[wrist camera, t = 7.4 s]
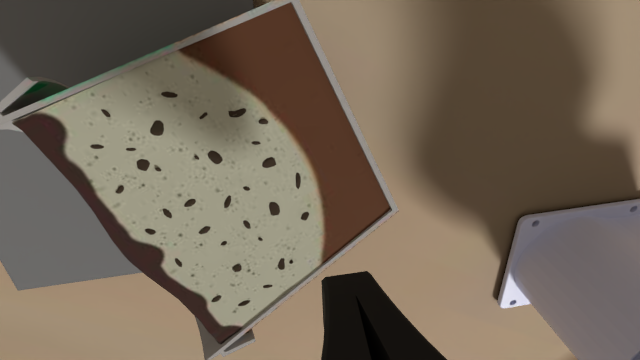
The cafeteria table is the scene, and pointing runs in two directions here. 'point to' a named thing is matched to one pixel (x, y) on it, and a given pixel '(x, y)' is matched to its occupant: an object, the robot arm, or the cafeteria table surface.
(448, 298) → the cafeteria table surface
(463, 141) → the cafeteria table surface
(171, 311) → the cafeteria table surface
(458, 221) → the cafeteria table surface
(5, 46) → the mat
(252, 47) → the food container
